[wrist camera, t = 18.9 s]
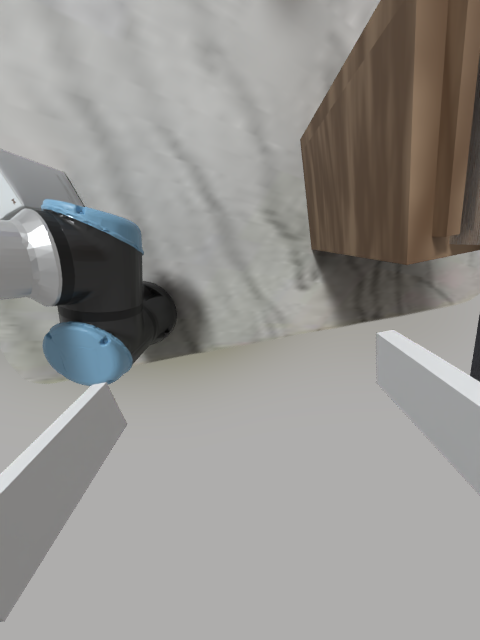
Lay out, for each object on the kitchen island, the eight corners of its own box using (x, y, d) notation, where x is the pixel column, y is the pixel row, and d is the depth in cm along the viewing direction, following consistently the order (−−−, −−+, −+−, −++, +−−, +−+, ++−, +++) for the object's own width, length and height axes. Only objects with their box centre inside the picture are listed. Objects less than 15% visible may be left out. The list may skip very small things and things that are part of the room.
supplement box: (64, 169, 44) (-20, 137, 30) (90, 216, 47) (25, 207, 33) (27, 189, 45) (-70, 167, 31) (55, 233, 48) (-22, 231, 34)
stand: (311, 249, 48) (419, 266, 19) (300, 139, 42) (439, -101, 12) (393, 231, 47) (648, 219, 17) (394, 114, 40) (815, -230, 11)
